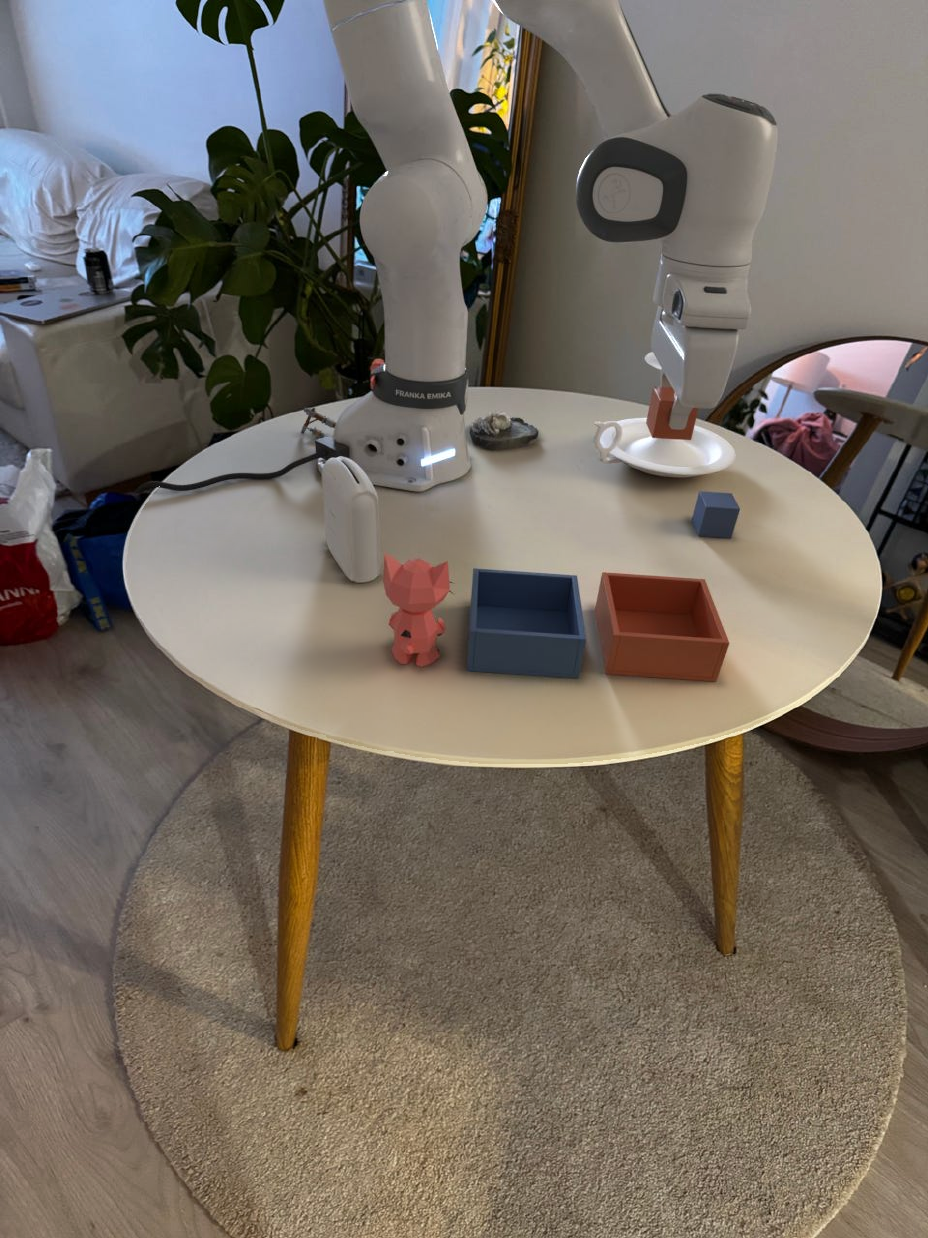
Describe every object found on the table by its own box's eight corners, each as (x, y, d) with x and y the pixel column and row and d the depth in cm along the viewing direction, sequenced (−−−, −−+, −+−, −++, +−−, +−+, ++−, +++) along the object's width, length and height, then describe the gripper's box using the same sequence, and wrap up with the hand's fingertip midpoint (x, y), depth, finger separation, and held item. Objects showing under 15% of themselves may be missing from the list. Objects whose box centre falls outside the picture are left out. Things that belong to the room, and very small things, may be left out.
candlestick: (548, 450, 119) (573, 257, 102) (670, 428, 129) (711, 249, 112) (628, 509, 104) (672, 296, 88) (759, 479, 114) (821, 282, 97)
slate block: (698, 536, 99) (706, 506, 97) (691, 519, 103) (699, 490, 100) (731, 538, 99) (740, 508, 97) (723, 522, 103) (732, 493, 100)
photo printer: (322, 543, 93) (315, 449, 85) (355, 537, 95) (351, 444, 87) (349, 587, 86) (345, 489, 78) (385, 580, 87) (383, 482, 80)
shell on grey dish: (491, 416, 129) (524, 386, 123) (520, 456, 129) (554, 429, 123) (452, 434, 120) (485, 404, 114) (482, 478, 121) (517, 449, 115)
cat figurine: (454, 641, 79) (460, 542, 72) (442, 684, 73) (447, 581, 66) (388, 631, 80) (387, 533, 72) (371, 673, 74) (368, 571, 67)
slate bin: (466, 671, 75) (469, 631, 72) (470, 605, 84) (473, 567, 81) (578, 678, 75) (586, 639, 72) (570, 612, 84) (577, 575, 81)
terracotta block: (652, 438, 85) (660, 400, 82) (645, 422, 89) (653, 386, 86) (691, 440, 85) (700, 402, 82) (683, 425, 89) (691, 388, 86)
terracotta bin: (605, 674, 76) (614, 635, 73) (594, 609, 85) (602, 571, 82) (716, 681, 76) (729, 643, 73) (694, 615, 85) (705, 579, 82)
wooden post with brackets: (296, 427, 118) (306, 402, 116) (344, 449, 120) (354, 425, 118) (294, 431, 117) (304, 405, 115) (342, 453, 119) (353, 428, 117)
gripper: (651, 264, 86) (629, 384, 94) (688, 312, 69) (658, 452, 78) (706, 267, 86) (680, 386, 94) (757, 316, 69) (719, 456, 78)
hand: (670, 417), depth 86 cm, fingers closed on terracotta block, 4 cm apart
